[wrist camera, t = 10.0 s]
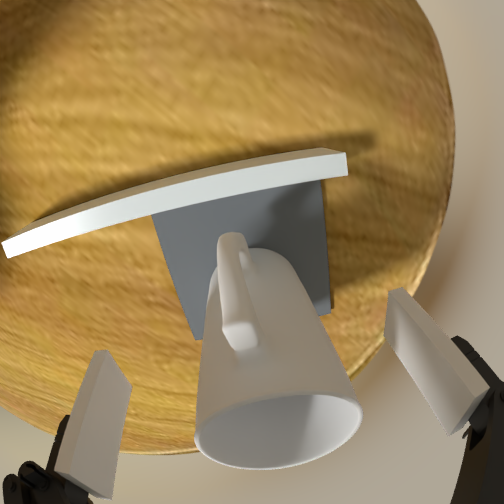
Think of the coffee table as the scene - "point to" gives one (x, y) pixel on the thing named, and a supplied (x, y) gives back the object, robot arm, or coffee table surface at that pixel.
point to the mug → (267, 367)
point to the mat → (256, 235)
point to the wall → (180, 194)
